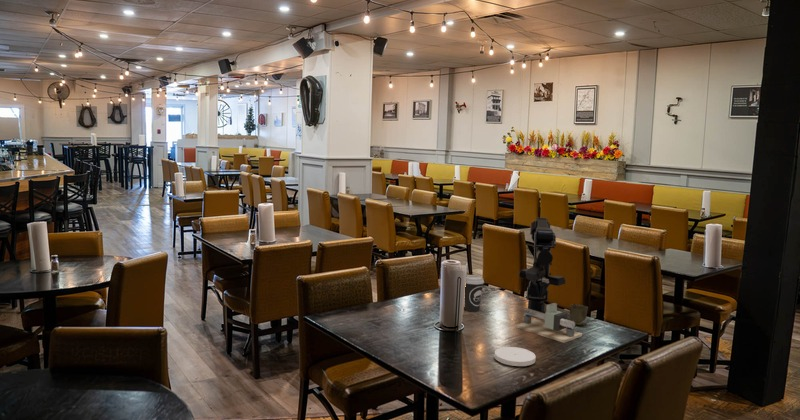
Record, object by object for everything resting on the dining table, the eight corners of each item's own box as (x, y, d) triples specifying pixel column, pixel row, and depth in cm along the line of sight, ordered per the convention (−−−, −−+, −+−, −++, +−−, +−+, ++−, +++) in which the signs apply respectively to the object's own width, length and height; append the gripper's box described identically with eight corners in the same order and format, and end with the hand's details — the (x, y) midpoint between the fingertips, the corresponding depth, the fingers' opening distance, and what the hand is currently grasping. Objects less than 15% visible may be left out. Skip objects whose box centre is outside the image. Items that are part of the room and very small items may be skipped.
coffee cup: (482, 307, 262) (483, 275, 260) (483, 313, 253) (484, 280, 251) (461, 306, 263) (462, 274, 261) (461, 312, 254) (462, 279, 252)
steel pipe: (523, 322, 238) (523, 308, 237) (527, 321, 240) (528, 307, 239) (570, 337, 222) (571, 321, 221) (574, 335, 224) (575, 320, 223)
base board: (514, 327, 235) (514, 324, 235) (533, 321, 244) (533, 318, 244) (564, 342, 218) (564, 340, 218) (582, 335, 227) (582, 333, 227)
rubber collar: (553, 329, 225) (554, 314, 225) (561, 326, 229) (562, 312, 229) (557, 331, 224) (558, 316, 223) (566, 328, 228) (567, 313, 227)
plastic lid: (515, 372, 189) (516, 364, 189) (485, 358, 201) (486, 351, 200) (543, 363, 197) (544, 356, 197) (513, 351, 209) (514, 344, 208)
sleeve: (544, 327, 228) (545, 305, 227) (553, 324, 232) (554, 302, 231) (553, 329, 225) (554, 307, 224) (561, 326, 229) (563, 304, 228)
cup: (583, 328, 236) (584, 309, 235) (565, 324, 240) (566, 306, 239) (589, 324, 242) (590, 306, 241) (572, 320, 246) (573, 302, 245)
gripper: (511, 258, 233) (509, 295, 235) (551, 266, 219) (548, 306, 221) (528, 255, 240) (526, 291, 242) (567, 263, 226) (564, 301, 228)
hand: (540, 297), depth 233 cm, fingers closed
